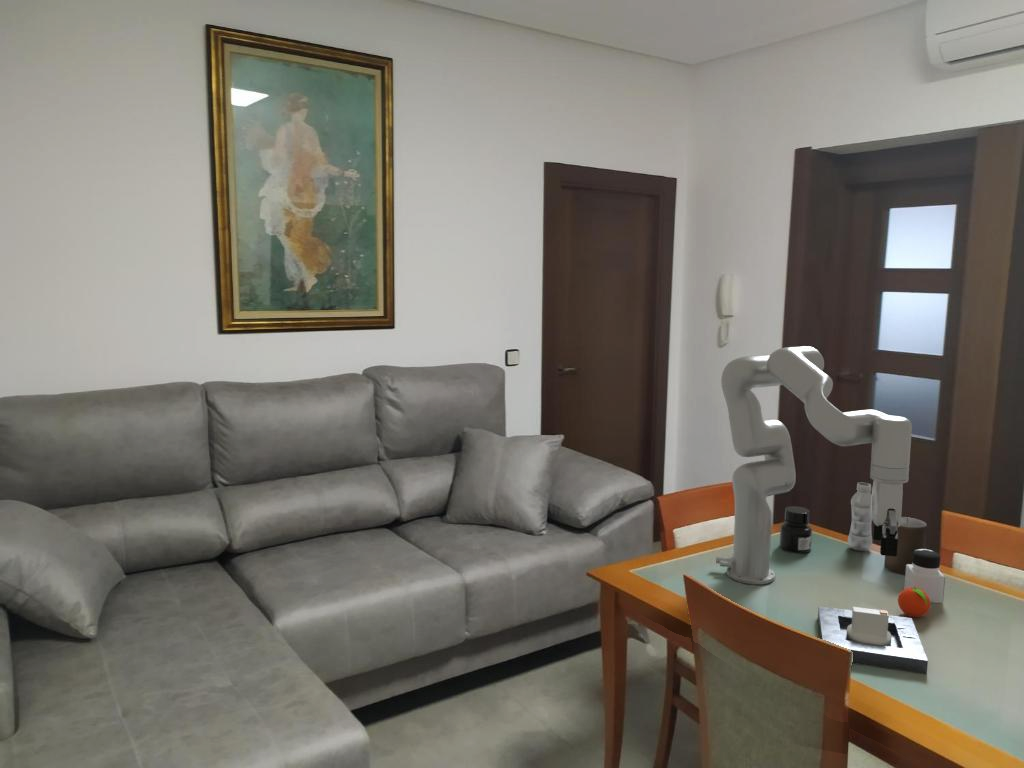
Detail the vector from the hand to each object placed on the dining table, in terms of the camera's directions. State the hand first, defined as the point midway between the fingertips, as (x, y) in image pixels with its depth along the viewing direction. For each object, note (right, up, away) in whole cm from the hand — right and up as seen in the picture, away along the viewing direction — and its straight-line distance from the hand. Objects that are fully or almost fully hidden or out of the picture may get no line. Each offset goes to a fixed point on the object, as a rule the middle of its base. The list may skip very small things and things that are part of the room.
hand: (884, 547), depth 168 cm
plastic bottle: (+20, -13, +57) cm, 62 cm away
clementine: (+14, -20, +14) cm, 28 cm away
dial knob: (-3, -20, +1) cm, 21 cm away
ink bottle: (+2, -13, +58) cm, 59 cm away
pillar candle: (+26, -15, +42) cm, 52 cm away
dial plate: (-3, -22, +1) cm, 22 cm away
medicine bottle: (+22, -18, +25) cm, 38 cm away
